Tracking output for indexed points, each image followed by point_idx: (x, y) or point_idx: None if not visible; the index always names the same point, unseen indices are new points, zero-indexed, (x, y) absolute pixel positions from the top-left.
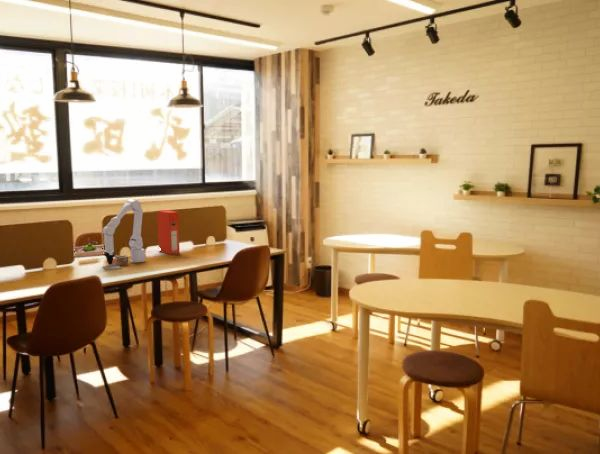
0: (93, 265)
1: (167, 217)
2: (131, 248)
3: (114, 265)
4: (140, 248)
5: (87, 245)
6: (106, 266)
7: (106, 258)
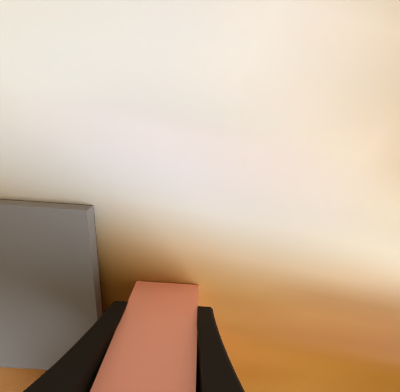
0: (304, 104)
1: None
2: None
3: None
4: None
5: None
6: (63, 250)
7: (231, 372)
